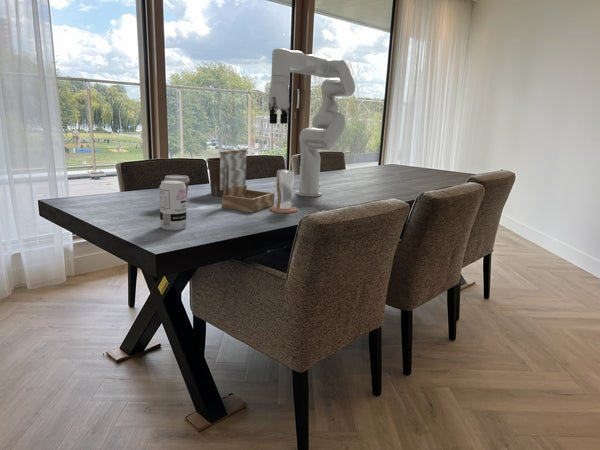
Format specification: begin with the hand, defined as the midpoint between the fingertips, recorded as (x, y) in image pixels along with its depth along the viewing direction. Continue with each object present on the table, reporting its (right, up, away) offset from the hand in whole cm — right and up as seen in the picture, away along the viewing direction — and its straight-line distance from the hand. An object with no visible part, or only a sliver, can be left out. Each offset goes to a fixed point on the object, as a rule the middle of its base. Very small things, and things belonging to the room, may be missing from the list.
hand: (278, 123), depth 189 cm
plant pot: (-26, -29, +17) cm, 42 cm away
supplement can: (-32, -44, -43) cm, 69 cm away
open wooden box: (-12, -35, -4) cm, 37 cm away
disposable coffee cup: (-39, -36, -13) cm, 55 cm away
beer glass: (+2, -36, -8) cm, 37 cm away
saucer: (+2, -37, -9) cm, 38 cm away
